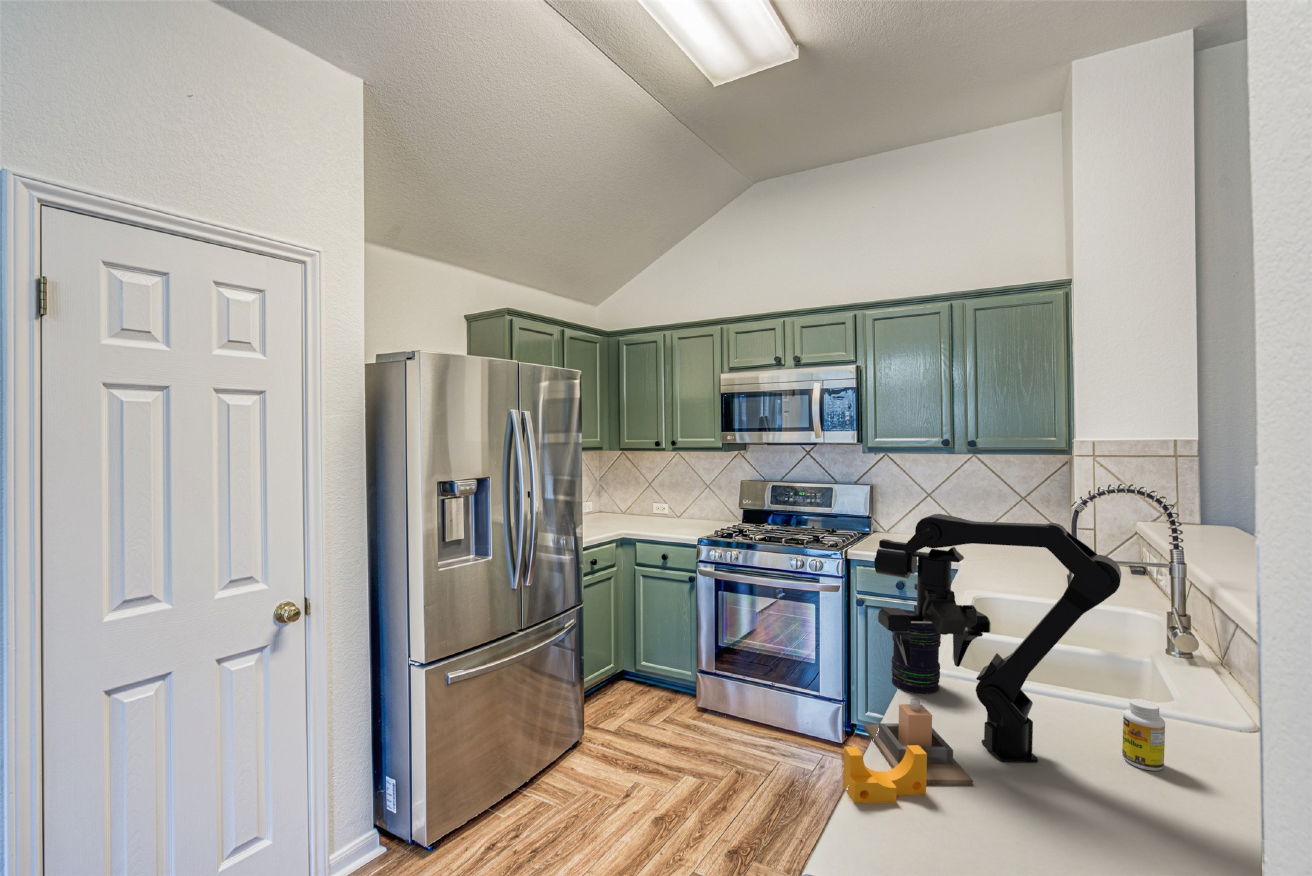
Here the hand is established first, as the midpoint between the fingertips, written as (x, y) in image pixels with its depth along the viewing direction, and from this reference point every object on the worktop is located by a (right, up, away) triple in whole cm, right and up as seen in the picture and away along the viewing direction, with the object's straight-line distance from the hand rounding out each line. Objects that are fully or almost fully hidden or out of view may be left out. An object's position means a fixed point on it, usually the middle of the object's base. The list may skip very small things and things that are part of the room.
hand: (932, 665), depth 115 cm
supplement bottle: (+31, -13, -11) cm, 35 cm away
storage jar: (+5, -12, +20) cm, 24 cm away
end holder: (-7, -12, -9) cm, 17 cm away
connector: (-7, -11, -9) cm, 16 cm away
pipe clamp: (-16, -13, -20) cm, 29 cm away
